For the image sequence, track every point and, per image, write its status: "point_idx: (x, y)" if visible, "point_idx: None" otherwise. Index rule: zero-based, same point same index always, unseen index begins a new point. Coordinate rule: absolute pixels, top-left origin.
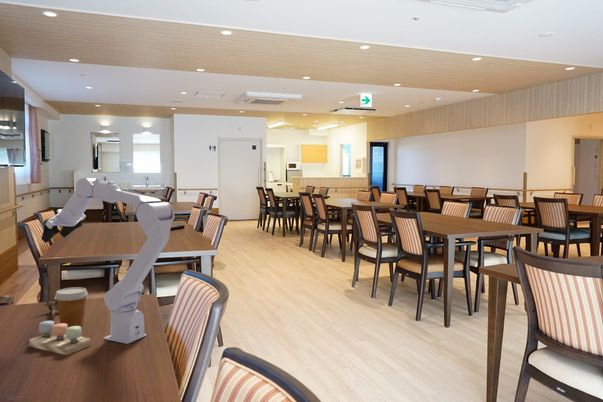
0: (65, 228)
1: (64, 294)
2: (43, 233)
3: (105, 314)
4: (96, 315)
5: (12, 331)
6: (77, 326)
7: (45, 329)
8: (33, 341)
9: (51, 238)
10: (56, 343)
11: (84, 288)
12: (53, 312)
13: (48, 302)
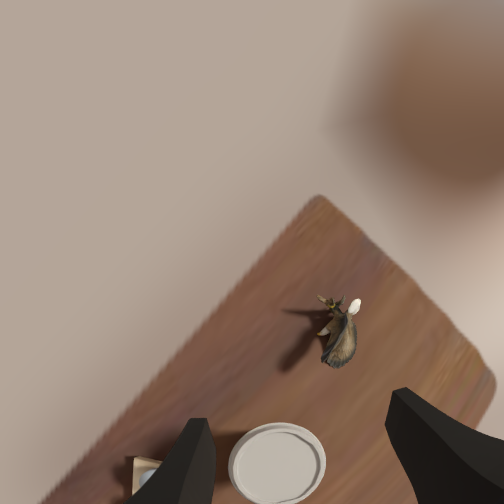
0: (424, 447)
1: (235, 482)
2: (169, 459)
3: (372, 438)
4: (359, 427)
5: (194, 351)
6: None
7: None
8: (134, 468)
9: (210, 500)
10: None
11: (318, 480)
12: (321, 334)
13: (332, 303)
